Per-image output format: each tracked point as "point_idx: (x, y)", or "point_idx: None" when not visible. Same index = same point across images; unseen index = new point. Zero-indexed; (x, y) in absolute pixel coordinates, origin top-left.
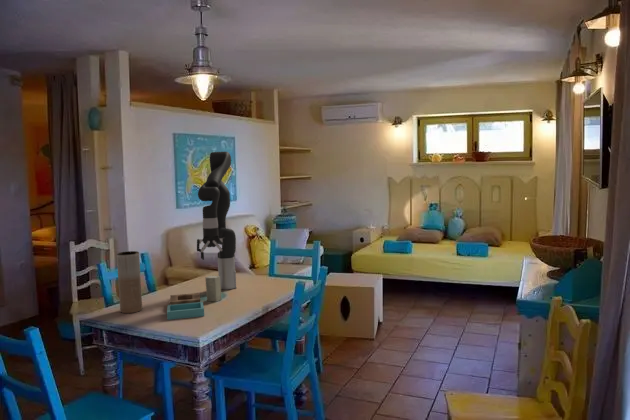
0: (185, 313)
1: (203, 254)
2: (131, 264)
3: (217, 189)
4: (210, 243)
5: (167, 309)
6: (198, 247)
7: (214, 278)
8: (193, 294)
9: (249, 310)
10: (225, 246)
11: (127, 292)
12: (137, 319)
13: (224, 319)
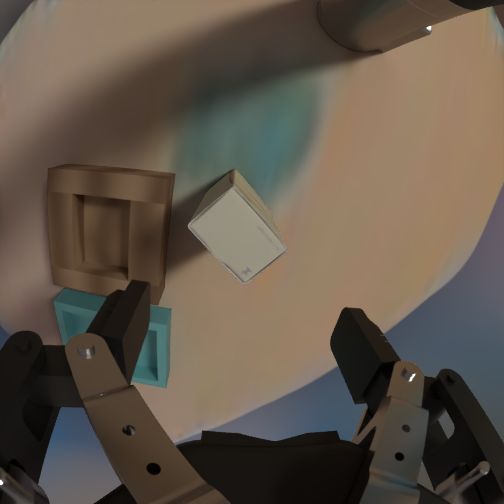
0: None
1: (131, 368)
2: None
3: None
4: None
5: (63, 344)
6: (37, 434)
7: (240, 280)
8: (136, 200)
9: (302, 375)
10: (435, 438)
11: None
12: (11, 306)
13: (216, 408)
